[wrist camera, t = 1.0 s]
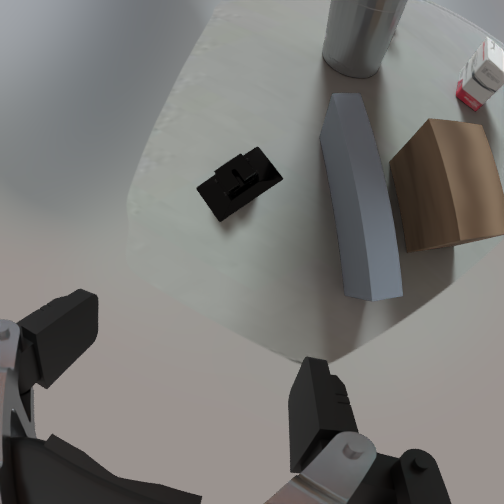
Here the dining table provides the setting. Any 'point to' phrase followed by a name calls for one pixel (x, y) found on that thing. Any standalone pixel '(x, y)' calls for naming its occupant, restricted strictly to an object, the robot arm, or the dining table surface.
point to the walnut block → (448, 186)
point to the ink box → (481, 75)
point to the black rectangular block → (238, 183)
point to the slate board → (360, 202)
